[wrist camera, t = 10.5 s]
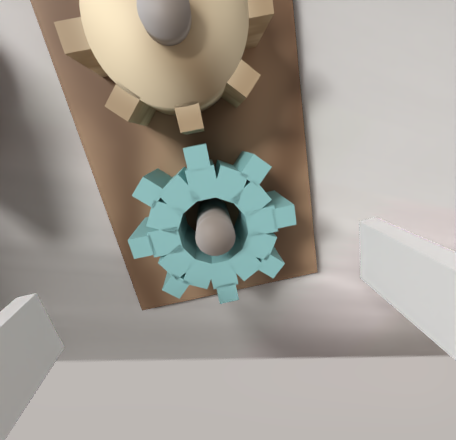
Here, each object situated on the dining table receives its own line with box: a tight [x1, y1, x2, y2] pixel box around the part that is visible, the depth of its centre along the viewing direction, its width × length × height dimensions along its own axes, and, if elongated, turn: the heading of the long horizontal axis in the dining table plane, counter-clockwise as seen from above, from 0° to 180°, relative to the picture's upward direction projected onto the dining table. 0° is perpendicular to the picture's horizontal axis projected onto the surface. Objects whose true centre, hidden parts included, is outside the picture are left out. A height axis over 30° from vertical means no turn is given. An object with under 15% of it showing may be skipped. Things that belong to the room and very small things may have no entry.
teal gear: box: [128, 143, 296, 304], centre depth 19 cm, size 11×11×5 cm
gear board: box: [30, 0, 317, 310], centre depth 17 cm, size 17×28×7 cm, turn 11°
